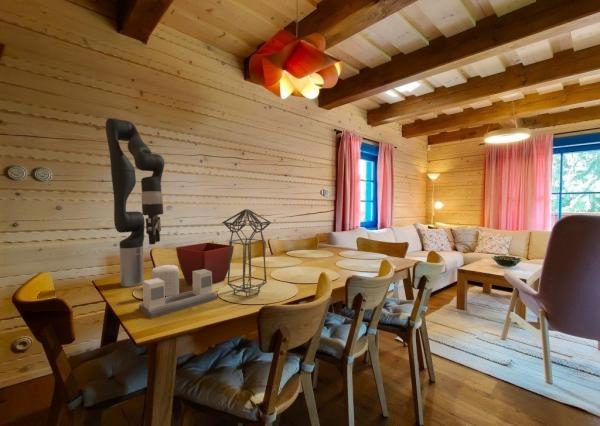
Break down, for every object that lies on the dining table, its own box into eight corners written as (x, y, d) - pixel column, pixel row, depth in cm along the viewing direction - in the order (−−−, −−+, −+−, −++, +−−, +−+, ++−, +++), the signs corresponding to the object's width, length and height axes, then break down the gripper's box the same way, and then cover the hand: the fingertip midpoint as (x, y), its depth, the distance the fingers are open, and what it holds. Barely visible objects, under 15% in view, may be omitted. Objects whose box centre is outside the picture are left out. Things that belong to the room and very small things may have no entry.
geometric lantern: (247, 285, 127) (246, 208, 125) (273, 292, 118) (273, 209, 117) (219, 295, 114) (218, 209, 113) (247, 303, 105) (246, 210, 104)
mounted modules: (143, 306, 98) (142, 280, 98) (204, 290, 115) (204, 269, 115) (150, 311, 94) (149, 284, 94) (212, 294, 111) (212, 271, 110)
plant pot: (235, 279, 136) (235, 245, 135) (203, 290, 120) (202, 251, 119) (208, 274, 146) (207, 242, 145) (175, 283, 130) (174, 247, 129)
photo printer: (178, 292, 118) (177, 262, 118) (180, 294, 115) (179, 264, 114) (150, 296, 112) (150, 266, 112) (151, 299, 109) (151, 268, 108)
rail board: (139, 308, 100) (138, 301, 100) (202, 292, 118) (201, 286, 117) (151, 318, 92) (151, 310, 92) (217, 299, 109) (217, 293, 109)
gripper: (146, 203, 119) (148, 241, 120) (137, 203, 106) (139, 246, 106) (165, 203, 121) (168, 240, 122) (158, 202, 108) (161, 244, 108)
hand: (154, 243), depth 114 cm, fingers open, 8 cm apart
